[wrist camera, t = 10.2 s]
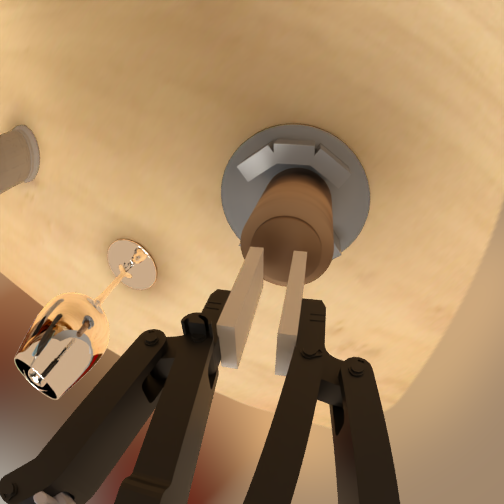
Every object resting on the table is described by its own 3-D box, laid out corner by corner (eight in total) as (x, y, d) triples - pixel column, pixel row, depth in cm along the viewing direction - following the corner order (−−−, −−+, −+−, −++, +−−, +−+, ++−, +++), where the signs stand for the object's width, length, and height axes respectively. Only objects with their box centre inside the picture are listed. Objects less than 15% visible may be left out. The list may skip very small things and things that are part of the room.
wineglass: (114, 226, 35) (-1, 333, 18) (166, 259, 35) (67, 391, 18) (103, 269, 39) (12, 370, 22) (148, 299, 39) (69, 416, 23)
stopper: (266, 164, 26) (238, 201, 18) (335, 172, 25) (341, 214, 17) (263, 226, 30) (237, 284, 22) (326, 234, 29) (325, 297, 20)
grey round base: (220, 122, 26) (207, 127, 23) (376, 131, 24) (384, 137, 20) (226, 254, 33) (216, 272, 30) (357, 267, 31) (360, 287, 27)
